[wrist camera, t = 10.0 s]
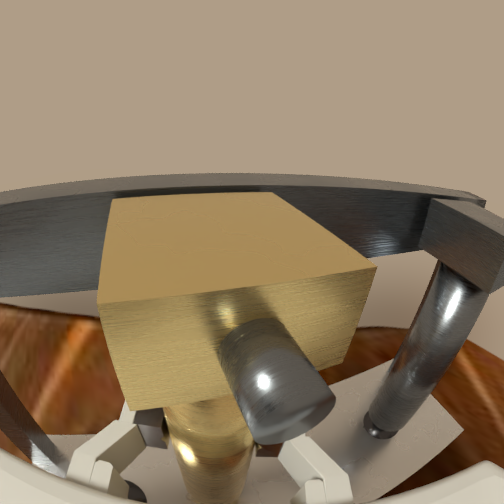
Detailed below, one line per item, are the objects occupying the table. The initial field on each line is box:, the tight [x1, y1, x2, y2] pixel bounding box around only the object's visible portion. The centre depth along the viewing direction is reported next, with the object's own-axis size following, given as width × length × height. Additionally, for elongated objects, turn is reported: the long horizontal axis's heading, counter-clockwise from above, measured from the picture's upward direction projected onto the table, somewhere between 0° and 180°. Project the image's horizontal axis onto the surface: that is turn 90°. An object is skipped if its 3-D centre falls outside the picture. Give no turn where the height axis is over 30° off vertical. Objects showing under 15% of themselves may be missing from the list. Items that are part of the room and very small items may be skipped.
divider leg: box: [97, 192, 377, 504], centre depth 9 cm, size 6×4×15 cm
